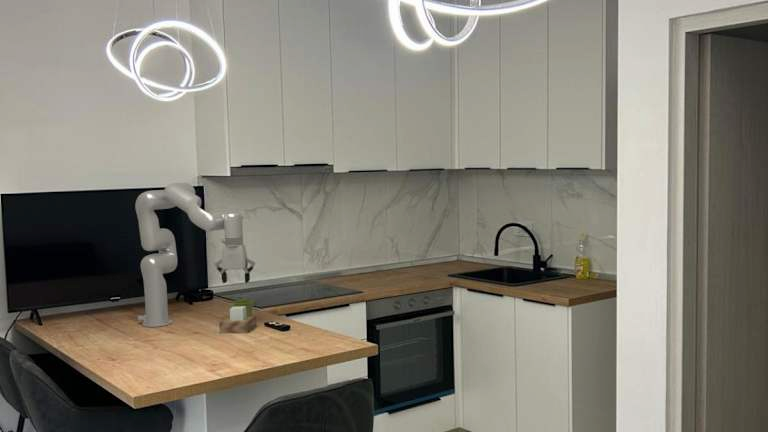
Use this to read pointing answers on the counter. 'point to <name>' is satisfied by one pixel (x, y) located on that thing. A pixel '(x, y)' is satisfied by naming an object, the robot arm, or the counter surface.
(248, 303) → the plant pot
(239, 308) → the white small block
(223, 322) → the walnut block
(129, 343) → the counter surface
